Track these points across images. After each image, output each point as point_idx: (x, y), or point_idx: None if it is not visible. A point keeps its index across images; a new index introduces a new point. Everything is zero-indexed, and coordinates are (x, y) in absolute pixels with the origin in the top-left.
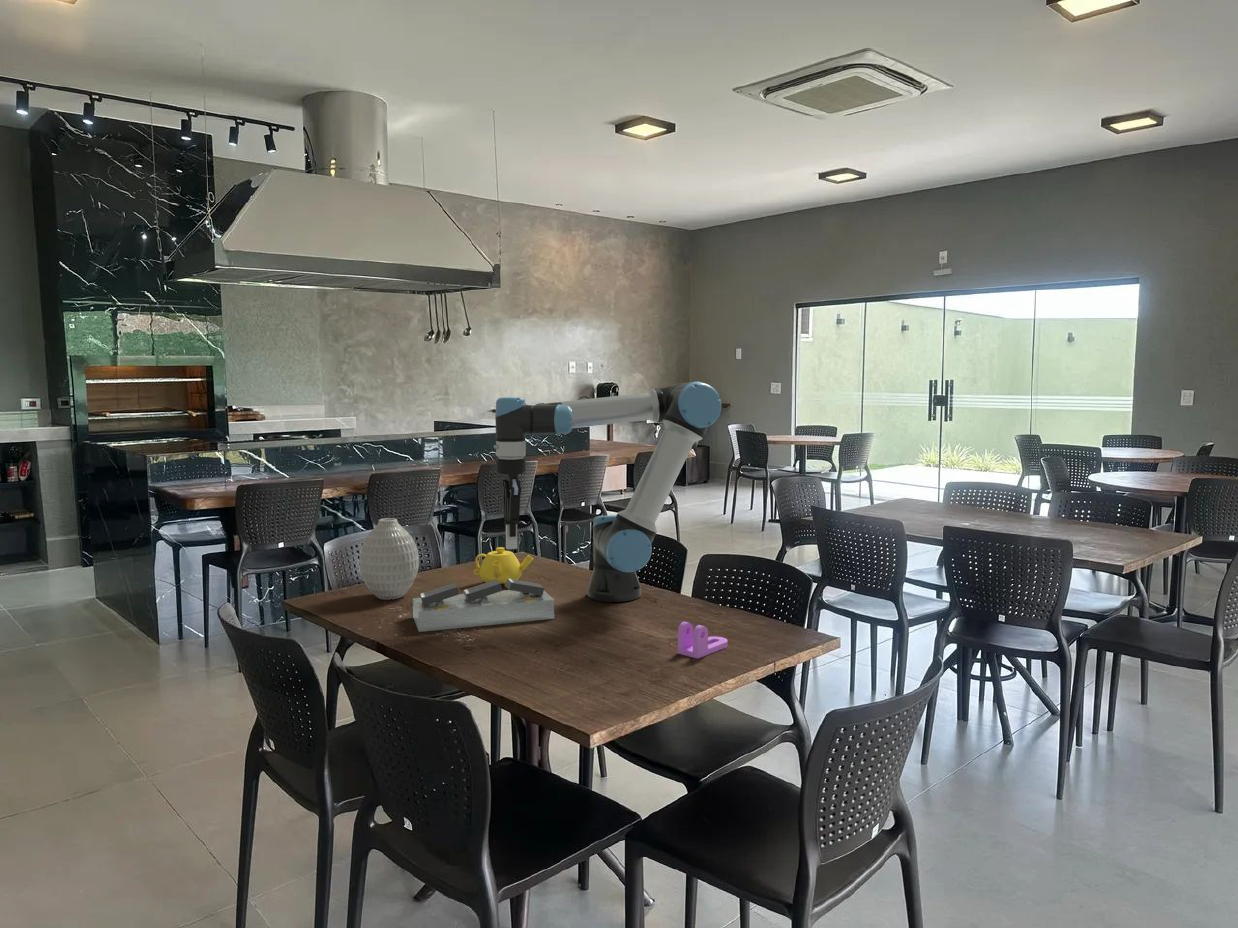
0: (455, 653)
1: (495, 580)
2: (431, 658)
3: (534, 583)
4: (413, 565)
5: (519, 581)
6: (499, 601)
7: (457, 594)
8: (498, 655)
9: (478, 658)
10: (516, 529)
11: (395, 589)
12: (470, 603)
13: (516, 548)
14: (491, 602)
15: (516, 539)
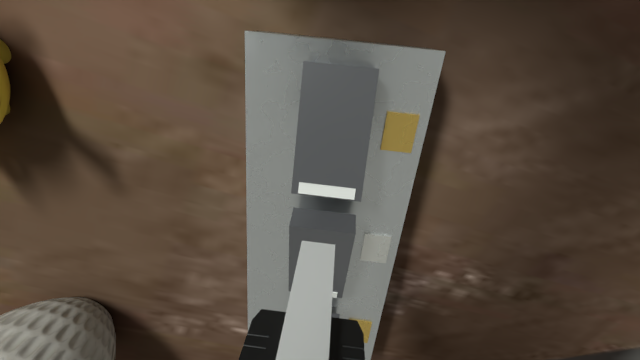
0: (538, 318)
1: (300, 231)
2: (535, 350)
3: (313, 88)
4: (54, 355)
5: (316, 153)
6: (372, 213)
7: (338, 317)
8: (615, 265)
9: (600, 297)
10: (327, 351)
11: (113, 337)
12: (353, 276)
13: (334, 250)
14: (379, 237)
15: (332, 288)
